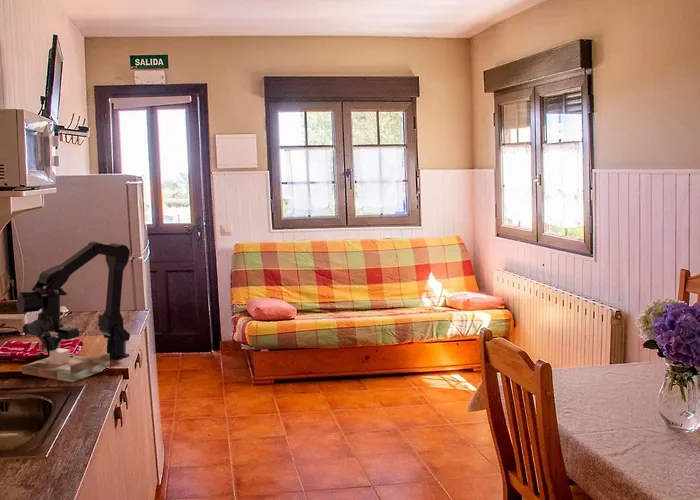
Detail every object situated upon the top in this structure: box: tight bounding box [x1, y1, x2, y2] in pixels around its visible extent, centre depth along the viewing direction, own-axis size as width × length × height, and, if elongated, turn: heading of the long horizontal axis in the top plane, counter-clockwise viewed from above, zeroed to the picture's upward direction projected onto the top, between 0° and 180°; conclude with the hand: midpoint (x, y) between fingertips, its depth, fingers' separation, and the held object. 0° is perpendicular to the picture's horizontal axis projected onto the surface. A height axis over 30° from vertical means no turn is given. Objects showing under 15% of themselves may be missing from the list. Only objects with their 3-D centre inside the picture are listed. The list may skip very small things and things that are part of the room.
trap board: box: [21, 352, 111, 383], centre depth 263 cm, size 18×20×5 cm
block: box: [49, 347, 71, 365], centre depth 263 cm, size 4×4×4 cm
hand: (50, 356), depth 265 cm, fingers closed
